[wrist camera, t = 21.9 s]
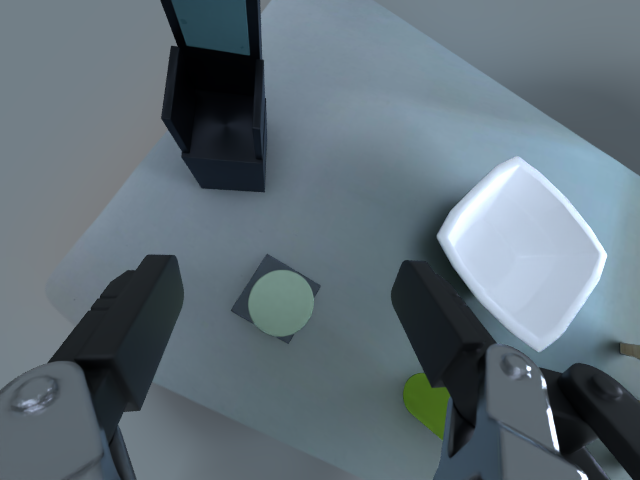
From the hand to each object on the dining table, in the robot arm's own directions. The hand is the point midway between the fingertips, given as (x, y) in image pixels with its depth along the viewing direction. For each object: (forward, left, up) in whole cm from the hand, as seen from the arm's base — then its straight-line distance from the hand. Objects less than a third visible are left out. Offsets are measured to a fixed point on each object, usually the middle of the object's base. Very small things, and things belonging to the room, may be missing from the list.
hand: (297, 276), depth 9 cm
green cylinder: (+1, -1, -28) cm, 28 cm away
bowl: (+27, +22, -29) cm, 45 cm away
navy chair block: (-16, +14, -28) cm, 36 cm away
